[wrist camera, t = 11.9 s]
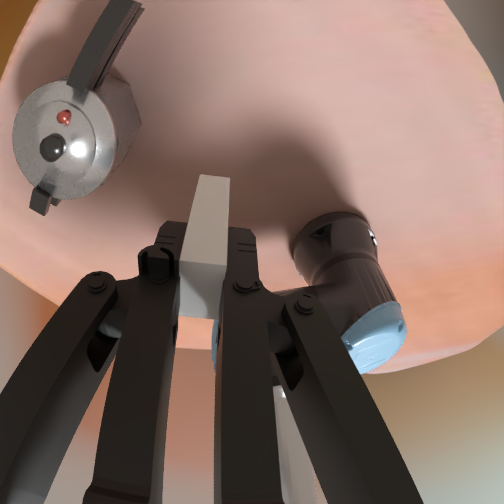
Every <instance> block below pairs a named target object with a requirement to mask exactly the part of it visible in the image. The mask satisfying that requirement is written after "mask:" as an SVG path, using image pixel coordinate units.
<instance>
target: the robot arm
mask: <svg viewBox="0 0 504 504" xmlns="http://www.w3.org/2000/svg"><path fill="white" fill-rule="evenodd" d="M229 194H230V178H228V177H220V176H211V175H202V174H200V177H199V180H198V184H197V188H196V192H195V196H194V200H193V204H192V208H191V212H190V217H189V221H188V223H183V222H174V221H166V222H165V223H164V224H163V225H162V226H161V227H160V229H159V232H158V234H157V237H156V240H155V243H154V245H151V246H148V247H146V248H144V249H142V250H141V251H140V252H139V254H138V266H139V275H138V276H137V277H134V278H131V279H127V280H119V281H116V280H115V278H114V277H113V276H112V275H111V274H109V273H107V272H103V271H97V272H92V273H90V274H87V275H86V276H85V277H84V278H82V279H81V281H80V282H79V283H78V284H77V285H76V287H75V288H74V289H73V290H72V292H71V293H70V294H69V295H68V297H67V298H66V299H65V301H64V302H63V303H62V304H61V306H60V307H59V308H58V310H57V311H56V312H55V314H54V315H53V316H52V318H51V319H50V321H49V322H48V323H47V324H46V326H45V327H44V329H43V330H42V331H41V333H40V334H39V336H38V337H37V338H36V340H35V341H34V343H33V344H32V346H31V347H30V348H29V350H28V351H27V353H26V354H25V356H24V357H23V359H22V360H21V362H20V363H19V365H18V367H17V368H16V370H15V371H14V373H13V374H12V376H11V377H10V379H9V381H8V383H7V384H6V386H5V387H4V389H3V391H2V392H1V394H0V504H43V503H44V501H45V499H46V497H47V494H48V492H49V490H50V487H51V485H52V483H53V480H54V478H55V476H56V473H57V471H58V469H59V466H60V464H61V462H62V460H63V457H64V456H65V453H66V451H67V449H68V447H69V445H70V443H71V440H72V438H73V436H74V434H75V432H76V430H77V428H78V426H79V424H80V422H81V420H82V418H83V416H84V414H85V412H86V410H87V408H88V406H89V404H90V402H91V400H92V398H93V396H94V394H95V392H96V391H97V389H98V387H99V385H100V383H101V381H102V379H103V377H104V375H105V374H106V372H107V370H108V368H109V366H110V364H111V362H112V361H113V359H114V357H115V355H116V358H115V361H114V366H113V370H112V374H111V378H110V383H109V388H108V392H107V397H106V402H105V406H104V412H103V417H102V423H101V428H100V433H99V440H98V445H97V453H96V459H95V466H94V474H93V480H92V483H91V485H90V486H89V487H88V489H87V490H86V492H85V495H84V497H83V503H82V504H162V491H163V490H162V489H163V471H164V456H165V441H166V429H167V418H168V406H169V397H170V388H171V379H172V370H173V362H174V354H175V346H176V339H177V332H178V315H179V316H186V317H195V318H205V319H214V323H213V329H212V360H213V362H214V369H215V373H216V377H215V417H214V504H317V494H316V485H315V475H314V471H315V473H316V475H317V478H318V480H319V483H320V485H321V488H322V490H323V493H324V495H325V498H326V500H327V503H328V504H423V501H422V499H421V497H420V494H419V492H418V490H417V488H416V486H415V484H414V481H413V479H412V477H411V475H410V473H409V471H408V469H407V467H406V464H405V462H404V460H403V458H402V456H401V454H400V452H399V450H398V448H397V446H396V444H395V442H394V440H393V438H392V436H391V434H390V432H389V430H388V428H387V426H386V424H385V422H384V420H383V418H382V416H381V414H380V412H379V410H378V408H377V406H376V404H375V402H374V400H373V398H372V396H371V394H370V392H369V390H368V388H367V386H366V385H365V383H364V381H363V379H362V377H361V375H360V374H363V373H366V372H368V371H371V370H373V369H375V368H377V367H379V366H380V365H382V364H383V363H385V362H386V361H387V360H389V359H390V358H391V357H392V356H393V355H394V354H395V353H396V352H397V351H398V350H399V349H400V347H401V346H402V344H403V342H404V340H405V338H406V333H407V326H406V323H405V320H404V317H403V314H402V311H401V306H400V304H399V303H398V302H397V300H396V298H395V296H394V294H393V292H392V290H391V288H390V286H389V284H388V282H387V280H386V278H385V276H384V274H383V272H382V270H381V268H380V266H379V264H378V255H377V243H376V238H375V236H374V233H373V232H372V230H371V228H370V226H369V225H368V224H367V222H366V221H365V220H363V219H362V218H361V217H359V216H357V215H355V214H351V213H346V212H335V213H330V214H326V215H323V216H321V217H318V218H316V219H315V220H313V221H311V222H310V223H309V224H308V225H306V226H305V227H304V228H303V229H302V231H301V232H300V233H299V235H298V236H297V238H296V240H295V243H294V247H293V257H294V262H295V266H296V268H297V271H298V272H299V274H300V275H301V276H302V277H303V279H304V280H305V281H306V282H307V284H308V285H309V286H307V287H301V288H295V289H288V290H282V291H276V292H270V291H269V290H267V289H266V288H265V287H264V286H263V284H262V282H261V281H260V279H259V271H258V260H257V249H256V237H255V236H254V234H253V233H252V231H251V230H250V229H244V228H235V227H228V217H229Z"/></svg>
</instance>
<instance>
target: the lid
mask: <svg viewBox="0 0 504 504" xmlns="http://www.w3.org/2000/svg"><path fill="white" fill-rule="evenodd" d="M141 5H142V4H141V3H139V2H137V1H134V0H110V2H109V3H108V5H107V6H106V8H105V10H104V11H103V13H102V15H101V16H100V18H99V20H98V21H97V23H96V25H95V26H94V28H93V30H92V32H91V34H90V35H89V37H88V39H87V41H86V43H85V45H84V47H83V49H82V50H81V52H80V54H79V56H78V59H77V61H76V63H75V65H74V67H73V69H72V71H71V73H70V76H69V78H68V80H60V81H54V82H51V83H48V84H45V85H43V86H41V87H39V88H37V89H36V90H34V91H33V92H32V93H31V94H30V95H29V96H28V97H27V98H26V99H25V100H24V102H23V103H22V105H21V106H20V108H19V110H18V112H17V115H16V118H15V121H14V126H13V134H12V139H13V149H14V154H15V157H16V160H17V163H18V165H19V167H20V169H21V171H22V173H23V174H24V176H25V177H26V178H27V180H28V181H29V182H30V183H31V184H32V185H33V186H34V187H35V188H34V189H33V191H32V196H31V201H30V206H29V208H31V209H32V210H34V211H36V212H38V213H39V214H41V215H43V216H45V215H46V214H47V212H48V210H49V206H50V202H51V198H52V197H54V198H58V199H66V200H69V199H77V198H81V197H83V196H86V195H87V194H89V193H91V192H92V191H94V190H95V189H96V188H97V187H98V186H99V185H100V184H101V183H102V182H103V180H104V179H105V178H106V176H107V175H108V173H109V172H110V170H111V168H112V165H113V163H114V160H115V155H116V149H117V134H116V128H115V124H114V120H113V117H112V115H111V112H110V111H109V109H108V107H107V105H106V104H105V102H104V101H103V99H102V98H101V97H100V96H99V95H98V94H97V93H96V92H95V91H93V90H92V89H93V88H94V86H95V84H96V82H97V80H98V78H99V76H100V74H101V72H102V70H103V68H104V66H105V64H106V62H107V60H108V59H109V57H110V55H111V53H112V51H113V50H114V48H115V46H116V44H117V43H118V41H119V39H120V38H121V36H122V34H123V33H124V31H125V30H126V28H127V26H128V25H129V23H130V22H131V20H132V19H133V17H134V16H135V14H136V13H137V11H138V10H139V8H140V7H141Z"/></svg>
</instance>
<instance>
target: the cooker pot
mask: <svg viewBox="0 0 504 504" xmlns="http://www.w3.org/2000/svg"><path fill="white" fill-rule="evenodd" d="M143 11H144V8H141V7H140V8H139V10H138V11H137V13H136V14H135V16H134V17H133V19H132V20H131V22H130V23H129V25H128V26H127V28H126V30H125V31H124V33H123V34H122V36H121V38H120V39H119V41H118V43H117V44H116V46H115V48H114V50H113V51H112V53H111V55H110V57H109V59H108V60H107V62H106V64H105V66H104V68H103V70H102V72H101V74H100V76H99V78H98V80H97V82H96V84H95V86H94V88H93V89H92V90H93V91H95V92H96V93H97V94H98V95H99V96H100V97H101V98H102V99H103V101H104V102H105V104H106V105H107V107H108V109H109V111H110V112H111V115H112V117H113V120H114V124H115V128H116V134H117V149H116V155H115V160H114V163H113V165H112V168H111V170H110V172H109V173H108V175H107V176H106V178H105V179H104V180H103V182H102V183H101V184H100V185H103V183H104V182H105V181H106V180H107V178H108V177H109V176H110V175H111V174H112V172H113V171H114V170H115V169H116V168H117V166H118V165H119V164H120V163H121V162H122V160H123V159H124V158H125V156H126V154H127V152H128V150H129V147H130V145H131V143H132V141H133V139H134V137H135V135H136V133H137V131H138V129H139V128H140V126H141V121H140V118H139V114H138V111H137V108H136V105H135V101H134V98H133V94H132V91H131V88H130V85H129V84H127V83H125V82H123V81H121V80H119V79H117V78H115V77H112V76H110V75H108V74H107V73H108V71H109V69H110V67H111V65H112V63H113V61H114V60H115V58H116V56H117V54H118V52H119V50H120V49H121V47H122V45H123V43H124V41H125V40H126V38H127V36H128V35H129V33H130V31H131V30H132V28H133V26H134V25H135V23H136V22H137V20H138V18H139V17H140V15H141V14H142V12H143ZM68 78H69V76H66V77H63V78H61V79H60V80H68ZM60 80H58V81H60ZM100 185H99V186H100ZM60 201H61V199H58V198H54V197H52V198H51V202H50V203H51V204H52V205H54V206H57V205H58V204H59V203H60Z"/></svg>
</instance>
